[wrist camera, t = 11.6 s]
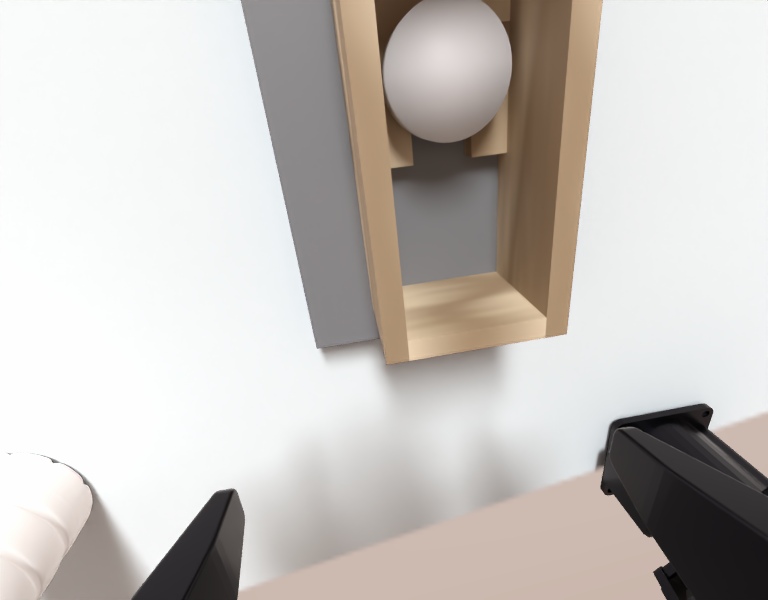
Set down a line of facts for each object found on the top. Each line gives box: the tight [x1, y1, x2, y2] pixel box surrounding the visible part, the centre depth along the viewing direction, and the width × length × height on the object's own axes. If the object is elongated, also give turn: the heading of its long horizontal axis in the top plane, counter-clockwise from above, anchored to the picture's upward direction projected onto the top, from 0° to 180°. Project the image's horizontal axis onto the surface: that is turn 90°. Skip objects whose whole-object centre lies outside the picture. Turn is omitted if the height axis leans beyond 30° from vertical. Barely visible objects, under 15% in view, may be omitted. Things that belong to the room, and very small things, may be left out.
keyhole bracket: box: [331, 0, 603, 365], centre depth 13 cm, size 6×13×4 cm, turn 6°
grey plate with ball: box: [241, 0, 512, 349], centre depth 14 cm, size 12×21×4 cm, turn 6°
